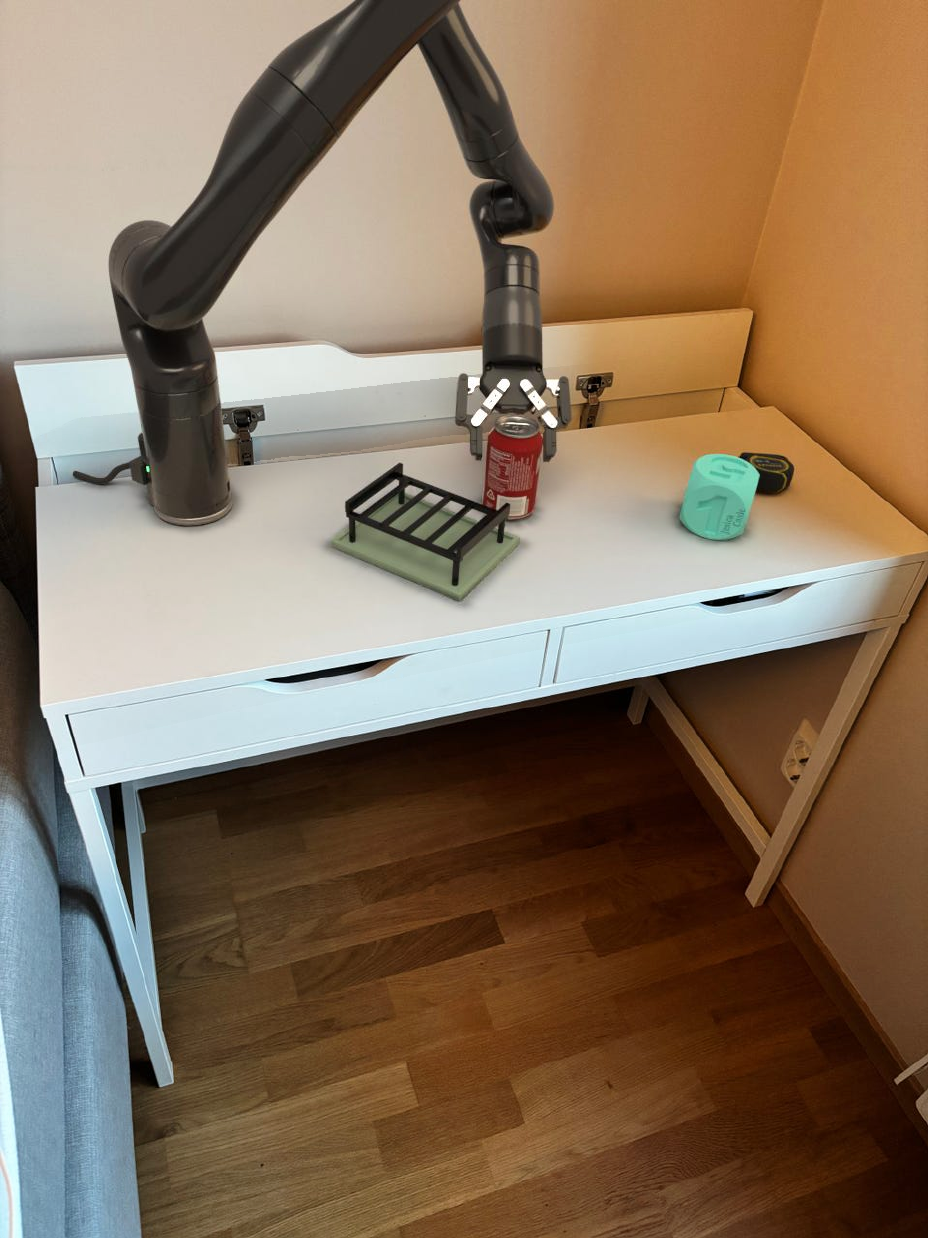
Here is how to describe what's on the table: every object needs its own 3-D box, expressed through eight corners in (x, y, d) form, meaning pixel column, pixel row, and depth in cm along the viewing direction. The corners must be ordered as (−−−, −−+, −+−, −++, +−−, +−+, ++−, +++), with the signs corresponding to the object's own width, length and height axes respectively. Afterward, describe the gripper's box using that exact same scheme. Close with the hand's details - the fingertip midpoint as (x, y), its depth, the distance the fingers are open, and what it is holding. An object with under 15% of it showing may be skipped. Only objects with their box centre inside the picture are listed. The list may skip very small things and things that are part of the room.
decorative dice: (675, 531, 119) (689, 476, 114) (686, 500, 125) (699, 447, 120) (738, 547, 117) (755, 492, 112) (746, 515, 123) (763, 461, 118)
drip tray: (331, 547, 112) (331, 540, 111) (397, 496, 122) (397, 489, 121) (459, 602, 105) (460, 595, 105) (519, 544, 115) (520, 537, 114)
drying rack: (345, 540, 112) (344, 501, 109) (398, 499, 120) (399, 462, 116) (458, 588, 106) (461, 548, 103) (506, 542, 114) (510, 503, 111)
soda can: (529, 527, 118) (540, 442, 110) (476, 518, 119) (484, 433, 111) (537, 499, 123) (548, 416, 115) (486, 491, 124) (494, 408, 116)
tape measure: (782, 474, 132) (789, 451, 130) (792, 500, 127) (800, 476, 125) (734, 470, 132) (740, 446, 130) (742, 496, 127) (749, 472, 125)
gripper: (457, 318, 113) (458, 450, 112) (574, 322, 115) (576, 453, 113) (453, 342, 121) (453, 466, 119) (562, 345, 122) (564, 468, 121)
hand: (513, 459), depth 116 cm, fingers open, 8 cm apart
